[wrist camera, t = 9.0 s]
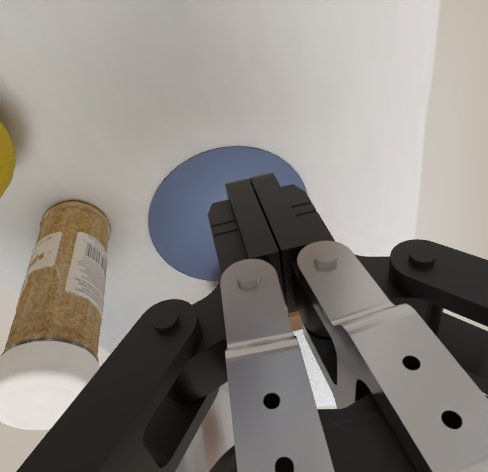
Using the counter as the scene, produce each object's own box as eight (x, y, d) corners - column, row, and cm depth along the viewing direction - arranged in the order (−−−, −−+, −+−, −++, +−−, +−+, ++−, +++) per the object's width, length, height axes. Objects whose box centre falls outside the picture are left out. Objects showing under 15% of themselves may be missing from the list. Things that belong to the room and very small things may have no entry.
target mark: (274, 286, 36) (274, 287, 36) (134, 270, 32) (134, 272, 31) (334, 166, 29) (335, 168, 29) (169, 127, 25) (169, 128, 25)
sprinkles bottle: (32, 201, 26) (-37, 386, 16) (106, 196, 27) (85, 368, 17) (50, 255, 29) (2, 442, 19) (116, 249, 30) (105, 424, 20)
